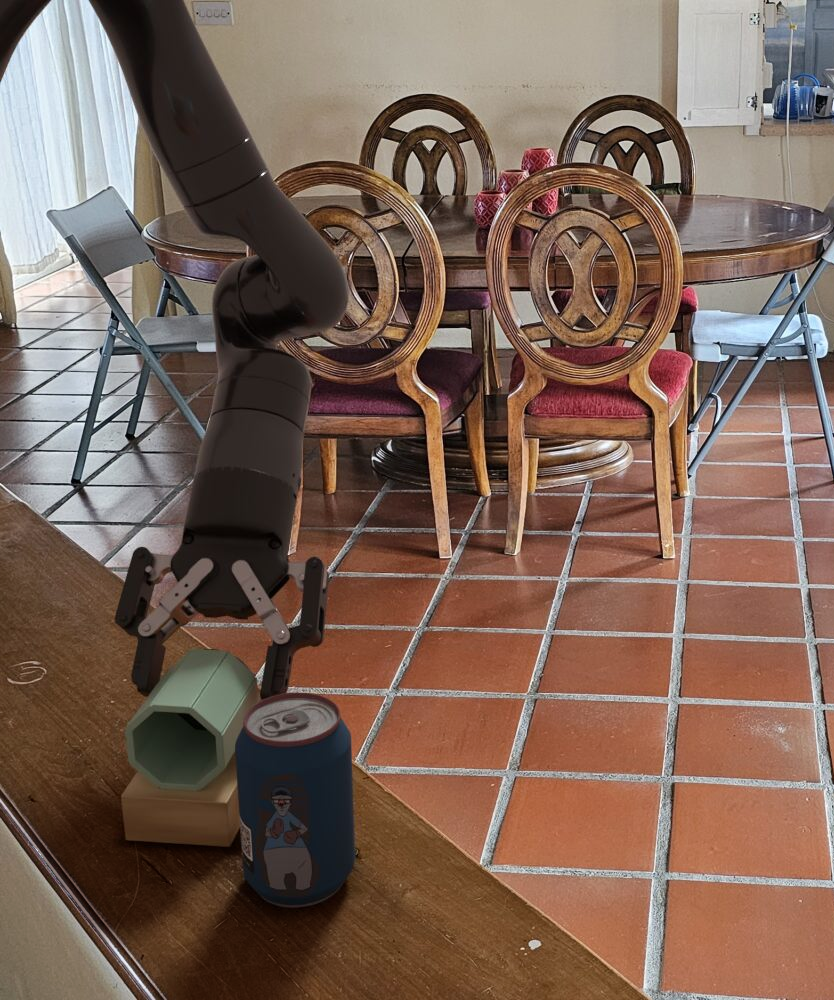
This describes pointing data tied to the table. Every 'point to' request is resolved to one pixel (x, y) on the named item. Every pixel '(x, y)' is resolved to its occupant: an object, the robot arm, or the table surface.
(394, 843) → the table surface
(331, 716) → the soda can
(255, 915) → the table surface
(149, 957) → the table surface
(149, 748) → the octagonal tube
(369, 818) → the table surface
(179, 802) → the step
